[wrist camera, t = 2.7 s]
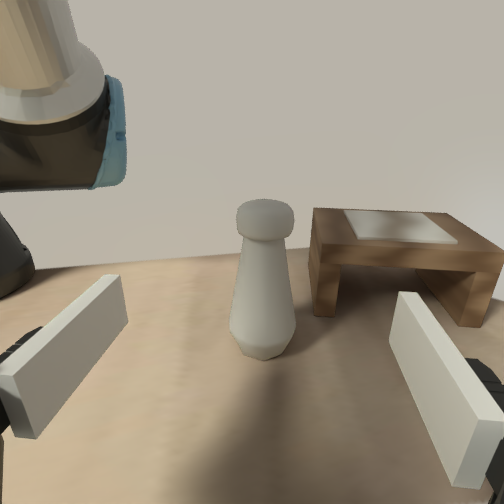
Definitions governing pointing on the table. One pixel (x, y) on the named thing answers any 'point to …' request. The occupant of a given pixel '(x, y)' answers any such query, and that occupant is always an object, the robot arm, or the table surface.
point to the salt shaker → (263, 280)
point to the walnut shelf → (405, 256)
